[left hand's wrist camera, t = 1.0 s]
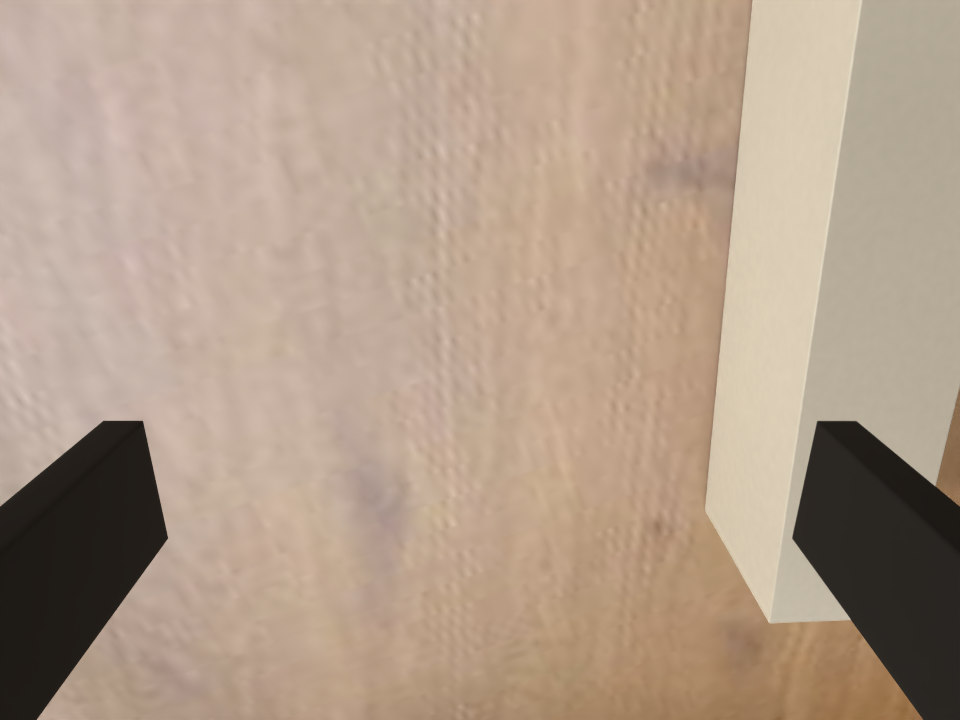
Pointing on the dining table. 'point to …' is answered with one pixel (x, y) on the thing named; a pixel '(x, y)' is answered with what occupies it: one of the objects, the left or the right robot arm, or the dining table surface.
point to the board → (835, 267)
